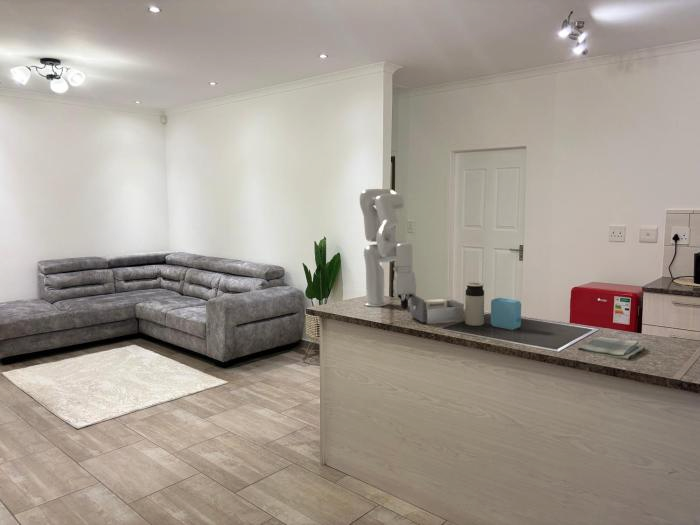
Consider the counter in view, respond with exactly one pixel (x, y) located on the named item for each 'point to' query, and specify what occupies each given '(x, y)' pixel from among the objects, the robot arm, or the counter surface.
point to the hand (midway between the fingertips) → (404, 308)
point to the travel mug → (474, 304)
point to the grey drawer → (417, 308)
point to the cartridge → (434, 304)
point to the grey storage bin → (446, 313)
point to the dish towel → (612, 347)
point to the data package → (506, 313)
